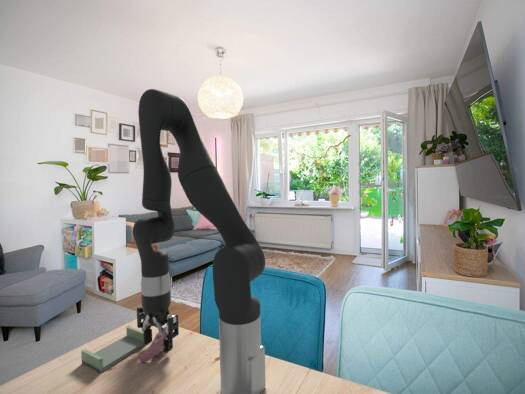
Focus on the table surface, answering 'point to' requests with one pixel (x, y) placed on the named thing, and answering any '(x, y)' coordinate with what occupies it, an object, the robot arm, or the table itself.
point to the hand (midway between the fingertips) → (157, 347)
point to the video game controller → (153, 348)
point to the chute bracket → (114, 351)
